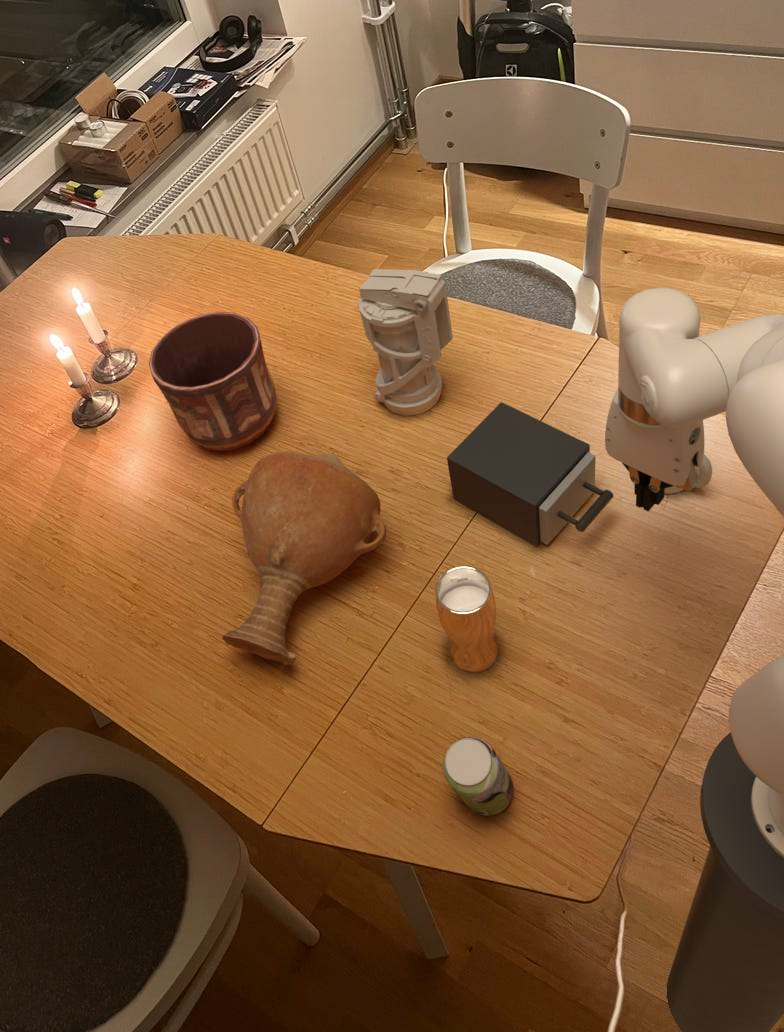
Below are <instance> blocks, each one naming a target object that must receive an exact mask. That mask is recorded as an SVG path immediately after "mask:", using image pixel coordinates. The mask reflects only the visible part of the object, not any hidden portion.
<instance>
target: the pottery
mask: <svg viewBox="0 0 784 1032" xmlns="http://www.w3.org/2000/svg"><path fill="white" fill-rule="evenodd" d="M261 339H262V338H261V334H260V331H259V327H258V326H257V325H256V324H255V323H254V322H253V321H252V320H251V319H250V318H249V317H247V316H244V315H241V314H239V313H236V312H230V311H214V312H207V313H204V314H199V315H196V316H193V317H192V318H189V319H187V320H184V321H182V322H180V323H179V324H177V325H176V326H174V327H172V328H171V329H170V330H168V331H167V332H166V333H165V334H164V335H163V336H162V337H161V338H160V339H159V340H158V341H157V343H156V344H155V346H154V347H153V349H151V352H150V357H149V361H148V366H149V370H150V374H151V377H152V379H153V381H154V383H155V384H156V386H157V387H158V389H159V390H160V392H161V393H162V395H163V397H164V398H165V400H166V401H167V403H168V406H169V407H170V409H171V411H172V413H173V415H174V418H175V419H176V422H177V423H178V425H179V427H180V428H181V430H182V431H183V433H185V435H186V436H187V437H188V438H189V439H190V440H191V441H192V443H195V444H197V445H199V446H201V447H203V448H206V449H207V450H212V451H221V452H224V451H225V452H226V451H234V450H240V449H242V448H245V447H247V446H248V445H250V444H251V443H253V442H254V441H256V440H257V439H258V438H260V437H262V436H263V434H265V432H266V430H267V429H268V428H269V427H270V426H271V424H272V421H273V419H274V415H275V412H276V410H277V406H278V396H277V392H276V388H275V384H274V381H273V378H272V376H271V373H270V370H269V368H268V365H267V361H266V358H265V353H264V349H263V344H262V340H261Z"/></svg>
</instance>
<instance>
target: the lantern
mask: <svg viewBox="0 0 784 1032" xmlns="http://www.w3.org/2000/svg"><path fill="white" fill-rule="evenodd" d="M442 275H443V274H439V273H433V272H428V271H424V270H416V269H413V270H412V269H387V268H385V269H384V268H373V270H372V271H371V272H370V273H369V275H368V278H367V279H366V281H365V282H362V284H361V286H359V288H358V289H359V290H358V291H359V296H360V297H359V300H358V310H359V314H360V318H361V321H362V327H363V331H364V334H365V336H366V339H367V340H368V341H369V343H370V345H372V348H373V351H374V352H376V353H377V357H378V361H379V366H380V368H379V369H378V371H377V374H376V376H375V383H376V387H377V390H376V392H375V394H374V396H373V397H374V400H376V401H378V402H380V403H383V404H384V406H385V407H386V408H387V409H388V410H389V411H390V412H392V413H394V414H396V415H399V416H406V417H408V416H409V417H411V416H418V415H422V414H424V413H425V412H428V411H429V410H431V409H432V408H433V407H434V406H435V405H436V404H437V403H438V402H439V400H440V397H441V393H442V389H443V380H442V379H443V378H442V375H441V373H440V372H439V370H438V369H437V368H436V365H435V364H436V363H437V362H438V361H439V359H441V357H442V351H441V350H443V349H444V348H445V347H446V346H447V345H448V344H450V343H451V342H452V340H453V339H454V335H453V328H452V322H451V321H452V320H451V315H450V308H449V300H448V291H447V285H446V281H445V280H444V279H443V278H442Z"/></svg>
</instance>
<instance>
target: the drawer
mask: <svg viewBox="0 0 784 1032" xmlns="http://www.w3.org/2000/svg"><path fill="white" fill-rule="evenodd" d="M593 494H596V495H598V497H597V498H596V499H595V501H594V502H593V503H592V504H591V505H590V507H589V508H588V509H587V510H586V511H585V513H583V515H582V516H581V517H580V518H579V520H578V519H576V518H574V516H575V514H576V513H577V512H578V511H579V510H580V509H581V508H582V506H583V505H584V504H585V503H586V502H587V500H588V499H589V498H591V496H592V495H593ZM613 498H614V492H612V491H611V490H609V489H604V490H603V489H601V488H599V487H597V486H596V455H595V454H593V453H591V452H590V453H589V452H588V453H587V454H586V455H585V456H584V457H583V458H582V459H581V461H580V462H579V463H578V464H577V465H576V464H575V465H574V466H573V467H572V468H571V470H570V471H569V472H568V473H567V474H566V475H565V476H564V477H563V479H562V480H561V481H560V482H559V483H558V484H557V485H556V486H555V487H554V489H553V490H552V491H551V492H550V493H549V494H548V495H547V496H546V498H545V499H544V500H543V501H542V502H541V503H540V504H539V505H538V508H539V526H540V541H541V543H543V544H545V545H547V546H548V545H549V544H550V543H551V542H552V541H553V540H554V538H555V537H556V536H558V534H559V533H560V532H561V531H562V529H563V528H564V527H565V526H566V525H567V524H568V523H569V524H571V525H573V526H574V527H575V529H576V530H577V531H578V532H580V533H584V532H585V531H586V530H587V529H588V527H589V526H590V525H591V524H592V523H593V522H594V520H595V519H596V518H597V517H598V516H599V514H600V513H601V512H602V511H603V510H604V509H605V508H606V506H607V505H608V504H609V503H610V502H611V500H612V499H613Z"/></svg>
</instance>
